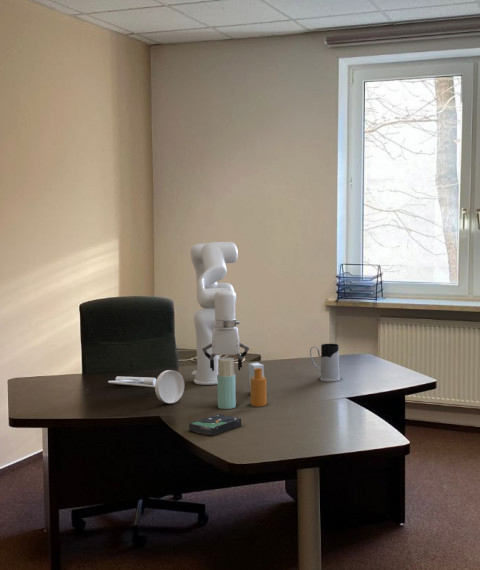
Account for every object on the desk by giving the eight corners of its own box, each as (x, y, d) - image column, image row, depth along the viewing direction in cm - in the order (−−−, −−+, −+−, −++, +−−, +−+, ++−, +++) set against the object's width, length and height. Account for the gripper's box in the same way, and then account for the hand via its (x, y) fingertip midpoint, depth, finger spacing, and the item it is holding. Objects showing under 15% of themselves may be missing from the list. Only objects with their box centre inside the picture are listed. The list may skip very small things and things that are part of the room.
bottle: (214, 407, 273) (213, 364, 272) (225, 403, 279) (225, 361, 277) (227, 409, 270) (227, 366, 268) (239, 406, 275) (238, 363, 274)
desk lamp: (204, 370, 292) (137, 365, 322) (159, 370, 275) (92, 365, 306) (203, 401, 291) (135, 394, 321) (157, 404, 274) (90, 395, 305)
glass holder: (334, 382, 314) (333, 347, 313) (305, 378, 321) (305, 344, 320) (343, 378, 321) (343, 344, 320) (315, 375, 329) (315, 341, 328)
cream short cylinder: (215, 375, 272) (214, 359, 272) (225, 372, 277) (225, 357, 277) (227, 377, 269) (226, 361, 269) (237, 374, 274) (237, 358, 273)
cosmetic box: (265, 395, 292) (264, 364, 291) (254, 396, 290) (254, 365, 289) (259, 391, 298) (258, 362, 297) (248, 393, 296) (248, 363, 295)
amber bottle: (247, 405, 276) (247, 369, 275) (257, 402, 281) (256, 367, 280) (260, 407, 273) (259, 371, 272) (269, 404, 278) (269, 368, 276)
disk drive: (219, 421, 255) (188, 431, 243) (219, 413, 254) (188, 422, 243) (241, 426, 248) (211, 436, 236) (241, 418, 248) (211, 427, 236)
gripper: (248, 322, 276) (249, 367, 278) (202, 323, 275) (203, 368, 276) (249, 325, 269) (249, 371, 270) (201, 326, 267) (202, 372, 269)
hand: (226, 369), depth 273 cm, fingers open, 9 cm apart
